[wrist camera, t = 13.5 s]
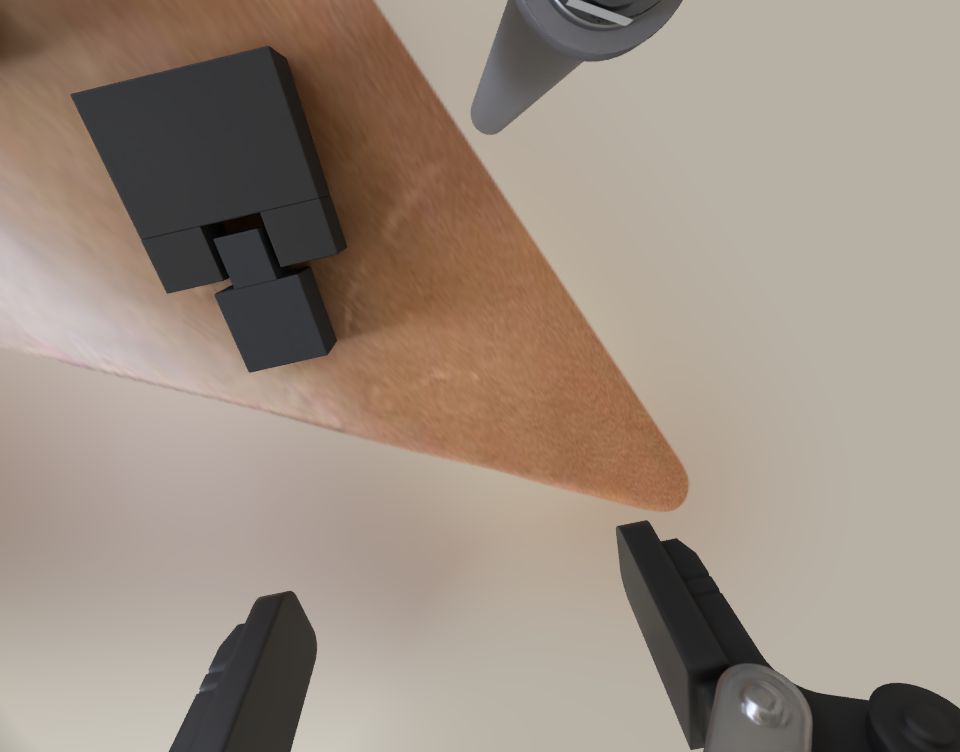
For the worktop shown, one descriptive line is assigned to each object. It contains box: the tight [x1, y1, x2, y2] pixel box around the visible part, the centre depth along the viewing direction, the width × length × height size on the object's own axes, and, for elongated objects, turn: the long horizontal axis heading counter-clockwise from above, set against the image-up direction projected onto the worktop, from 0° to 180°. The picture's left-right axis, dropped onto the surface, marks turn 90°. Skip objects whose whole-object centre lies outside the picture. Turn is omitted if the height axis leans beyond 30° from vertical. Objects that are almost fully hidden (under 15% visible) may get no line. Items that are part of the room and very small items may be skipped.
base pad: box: [71, 46, 347, 293], centre depth 31 cm, size 12×12×3 cm
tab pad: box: [214, 226, 337, 372], centre depth 34 cm, size 9×6×3 cm, turn 12°
